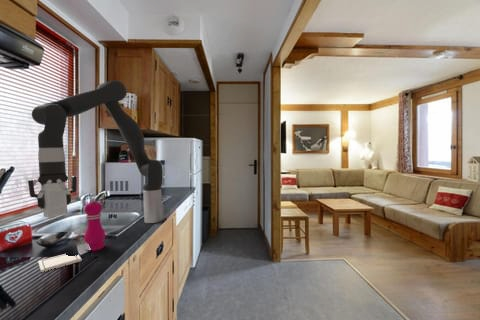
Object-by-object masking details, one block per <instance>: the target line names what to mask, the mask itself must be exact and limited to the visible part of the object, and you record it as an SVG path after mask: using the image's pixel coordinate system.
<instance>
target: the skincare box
mask: <svg viewBox="0 0 480 320" xmlns="http://www.w3.org/2000/svg"><path fill="white" fill-rule="evenodd" d="M63 184H64V185H65V186H66V182H63ZM44 186H45V193H44V194H43V196H42V198H43V207H44V208H43V209H42V210H43V217H44V218H47V219H50V218H55V217H59V216H64V215H68V205H67V199H66V190H63V188H62V187H61V186H60V185H59V184H58V183H51V184H44ZM44 186H43V185H41V184H40V189H41V188H43V187H44ZM63 187H64V186H63ZM66 187H67V186H66Z"/></svg>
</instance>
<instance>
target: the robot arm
mask: <svg viewBox="0 0 480 320" xmlns="http://www.w3.org/2000/svg"><path fill="white" fill-rule="evenodd" d="M127 92H128V91H127V88H126V86H125V84H124V83H123V82H122V81H119V80H116V79H114V80H109V81H106V82H103V83H99V85H98V86H97V88H96V89H93V90H89V91H84V92H81V93H77V94H74V95H70V96H67V97H65V98H62V99H60V100H56V101H51V102H47V103H43V104H39V105H37V106H35V107H33V109H32V111H31V118H32V120H33V121H35V122H36V123H37V124H39V125H44V127H43V130H42V131H40V132H39V133H38V135H37V141H38V142H37V144H38V153H37V154H38V155H37V156H38V175H39V176H38V178H37V179H28V180H27V185H28V191H29V197H30V198H35V199H37V206H38V208H40V209H41V210H43V208H44V207H43V198H42V196H43V194H44V193H45V186H44V184H51V183H58V184H59V185H60V186H61V187H62V188H63V190H66V199H67V206H69V205H70V203H71V202H72V197H71V194H73V193H76V192H77V183H78V182H77V180H78V179H77V176H76V175H72V176H68V175H67V170H66V155H65V154H66V153H65V150H64V149H65V148H64V138H63V137H64V133H65V129H66V125H67V120H68V119H67V118H69V117H75V116H78V115H80V114H83V113H85V112H88V111H89V110H92V109H95V108H96V107H99V106H101V105H104V106H105V109H106V110H107V111H108V113H109V114H110V116H111V117H112V120H113V121H114V123H115V125H116V126H117V128H118V130H119V133H120V134H121V136H122V138H123V140H124V141H125V144H126V145H127V147H128V148H129V149H128V150H129V151H130V153H131V155H132V157H133V159H134V161H135V164H136V167H137V169H138V172H139V173H140V174H141V175H142V176H143V177H146V178H147V182H146V183H144V184H143V185H142V195H143V217H144V218H143V219H144V221H143V222H144V224H145V223H146V224H154V223H160V222H162V221H165V219H164V218H165V215H164V213H165V211H164V203H163V202H162V200H163V199H162V185H163V175H164V174H163V171H164V170H163V164H162V163H161V162H160V161H159V160H156V159H150V158H149V156H148V154H147V152H146V150H145V136H144V134H143V132H142V130H141V127H140V125H139V124H138V122H137V121H136V120H135V119H133V117H131V116H130V115H129V114H128V113H127V112H125V110H124V109H123V108H122V106H121V104H120V103H119V102H120V101H122V100H124V99H126V96H127ZM67 181H69V182H70V183H71V185H70V186H71V189H68V187H67V186H65V185H66V184H65V185H64V184H63V182H65V183H66V182H67ZM38 183H39V184H40V186H41V185H43V186H44V187H43V188H41V187H40V190H39V191H38V193H36V191H35V186H36V185H37V184H38ZM63 186H64V187H63Z"/></svg>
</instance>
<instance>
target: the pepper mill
mask: <svg viewBox="0 0 480 320" xmlns="http://www.w3.org/2000/svg"><path fill="white" fill-rule="evenodd" d="M102 210H103V204H101V203H100V202H98V201H96V198H94V197H91V198H90V202H88V203H87V204H86V205H85V206H84V213H85V214H86V216H85V217H86V220H87V228H86V230H85V232H84V236H83V240H84V241H83V242H85V243H86V245H87V244H89V246H90V248H91V250H92V251H91V252H94V251H99V250H102V249H103V248H104V247H105V241H104V240H105V238H106V232H105V230H104V228H103V227H102V224H101V218H102V213H101V212H102Z"/></svg>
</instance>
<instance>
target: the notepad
mask: <svg viewBox="0 0 480 320" xmlns="http://www.w3.org/2000/svg"><path fill="white" fill-rule="evenodd" d="M82 260H83V259H82V257H81V256H80V255H79V254H78V255H77V256H76V255H75V256H68V255H66V253H64V254H60V255H55V256H52V257H49V258H44V259H39V260H37V262H38V267H39V270H40V273H41V272H42V273H45V272H49V271H52V270H55V269H54V268H56V269H58V268H62V267H65V265H66V266H69V265H73V264H75V263H76V264H77V263H79V262H82ZM51 269H52V270H51ZM48 270H49V271H48ZM44 271H45V272H44Z"/></svg>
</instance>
